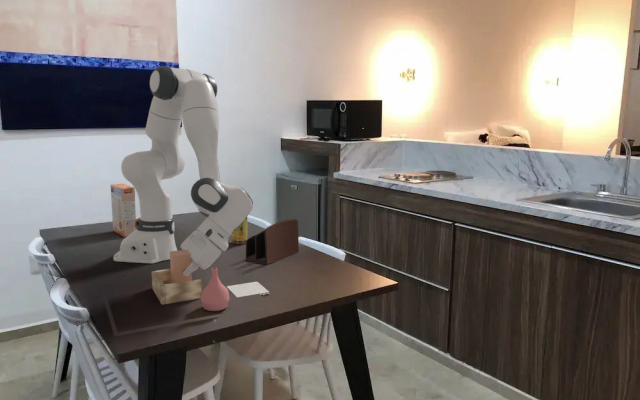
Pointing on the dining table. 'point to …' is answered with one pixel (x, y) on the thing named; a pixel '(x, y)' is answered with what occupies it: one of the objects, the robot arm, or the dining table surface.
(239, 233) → the sauce bottle
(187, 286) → the crate
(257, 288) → the coaster
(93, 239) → the dining table surface
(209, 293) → the pink vase
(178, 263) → the block
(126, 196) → the cracker box
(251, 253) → the letter holder
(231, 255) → the dining table surface
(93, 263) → the dining table surface
